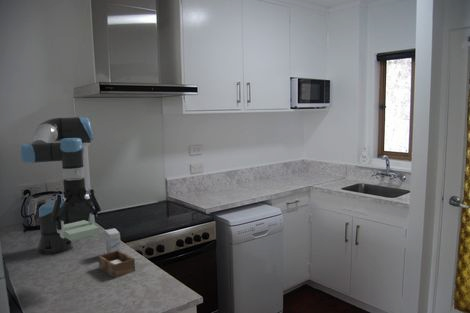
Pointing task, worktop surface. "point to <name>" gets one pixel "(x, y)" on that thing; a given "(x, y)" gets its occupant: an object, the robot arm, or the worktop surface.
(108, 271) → the box
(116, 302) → the worktop surface
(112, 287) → the worktop surface
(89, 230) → the lid
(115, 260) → the soap bar
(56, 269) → the worktop surface
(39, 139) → the robot arm
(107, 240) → the ink box
